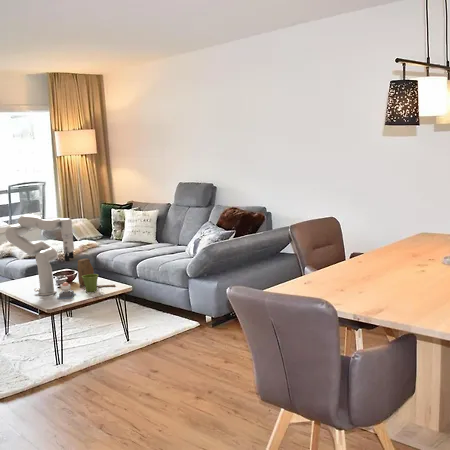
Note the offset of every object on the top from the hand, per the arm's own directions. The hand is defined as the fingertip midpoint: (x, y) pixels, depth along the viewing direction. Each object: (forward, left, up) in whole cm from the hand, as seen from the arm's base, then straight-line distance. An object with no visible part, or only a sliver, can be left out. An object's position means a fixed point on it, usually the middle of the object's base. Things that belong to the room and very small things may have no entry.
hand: (69, 259), depth 384 cm
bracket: (+20, +17, -25) cm, 36 cm away
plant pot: (+12, +7, -25) cm, 29 cm away
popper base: (-3, -6, -25) cm, 26 cm away
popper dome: (-3, -6, -22) cm, 23 cm away
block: (+4, +26, -25) cm, 37 cm away
